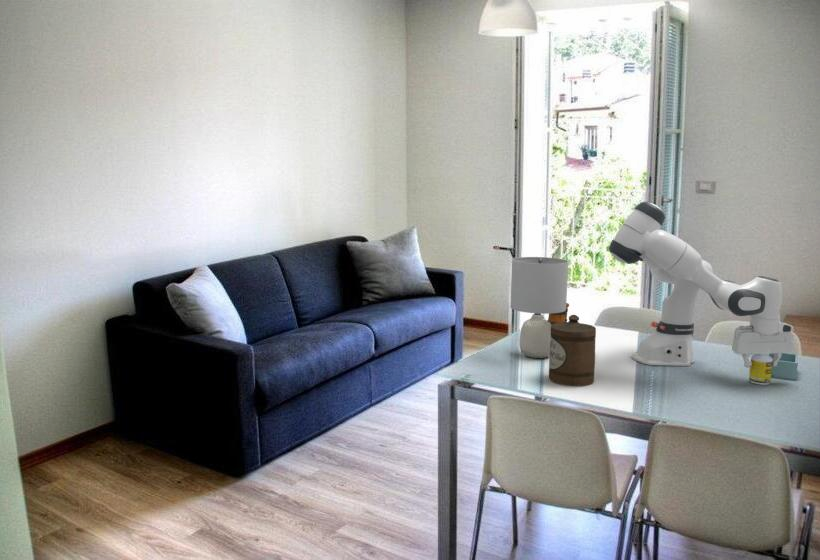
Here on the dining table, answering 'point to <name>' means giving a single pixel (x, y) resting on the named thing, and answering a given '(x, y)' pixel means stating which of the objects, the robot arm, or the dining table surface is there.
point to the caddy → (785, 366)
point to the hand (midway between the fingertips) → (760, 366)
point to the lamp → (538, 299)
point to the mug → (558, 316)
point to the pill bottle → (761, 368)
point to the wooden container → (572, 353)
